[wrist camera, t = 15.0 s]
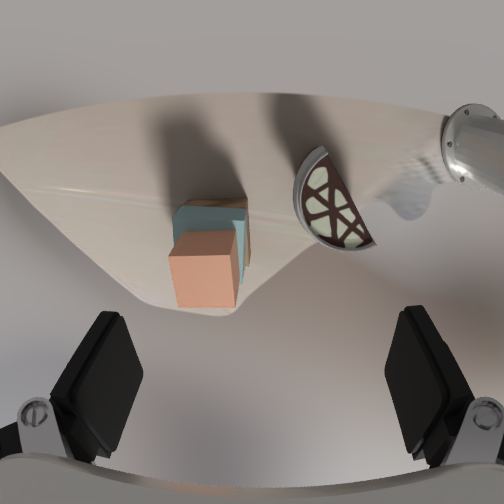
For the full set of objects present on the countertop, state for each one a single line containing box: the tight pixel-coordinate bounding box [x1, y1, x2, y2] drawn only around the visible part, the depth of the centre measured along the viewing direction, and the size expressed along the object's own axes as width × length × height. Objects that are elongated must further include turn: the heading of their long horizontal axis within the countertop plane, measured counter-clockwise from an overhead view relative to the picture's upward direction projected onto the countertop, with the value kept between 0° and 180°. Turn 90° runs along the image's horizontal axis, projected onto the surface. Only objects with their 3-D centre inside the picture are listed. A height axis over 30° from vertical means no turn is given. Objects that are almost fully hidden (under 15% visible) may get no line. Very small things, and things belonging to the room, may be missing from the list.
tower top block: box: [172, 206, 247, 284], centre depth 38 cm, size 8×8×4 cm
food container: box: [293, 145, 376, 252], centre depth 36 cm, size 12×6×10 cm, turn 33°
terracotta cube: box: [168, 230, 240, 308], centre depth 34 cm, size 6×6×6 cm
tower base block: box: [184, 198, 251, 266], centre depth 42 cm, size 8×8×4 cm
